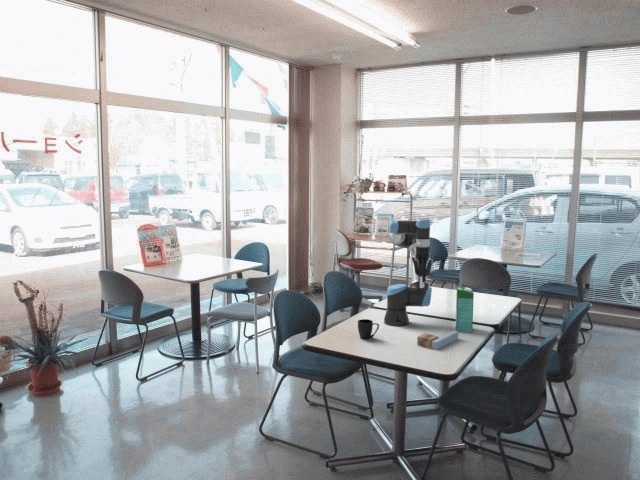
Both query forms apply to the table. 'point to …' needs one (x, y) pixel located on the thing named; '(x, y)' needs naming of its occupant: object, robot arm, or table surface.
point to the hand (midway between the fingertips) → (422, 287)
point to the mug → (366, 328)
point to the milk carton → (464, 309)
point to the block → (426, 340)
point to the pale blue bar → (444, 340)
